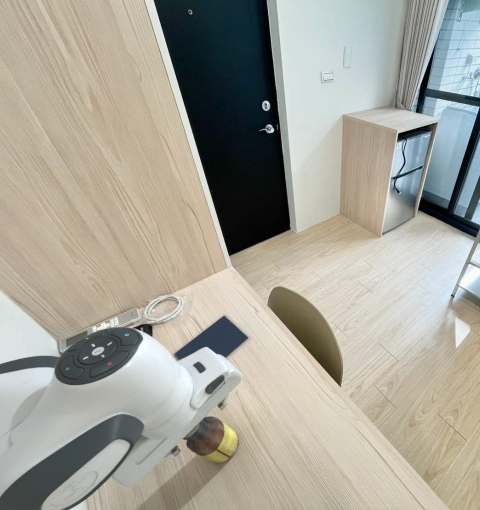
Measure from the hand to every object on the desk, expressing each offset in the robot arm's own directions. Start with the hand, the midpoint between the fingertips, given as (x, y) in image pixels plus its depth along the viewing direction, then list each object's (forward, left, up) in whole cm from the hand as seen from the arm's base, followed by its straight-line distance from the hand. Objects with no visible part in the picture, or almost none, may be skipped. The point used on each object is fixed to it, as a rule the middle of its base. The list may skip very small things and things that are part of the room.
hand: (200, 426), depth 49 cm
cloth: (+12, +23, -16) cm, 31 cm away
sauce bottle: (0, 0, -16) cm, 16 cm away
